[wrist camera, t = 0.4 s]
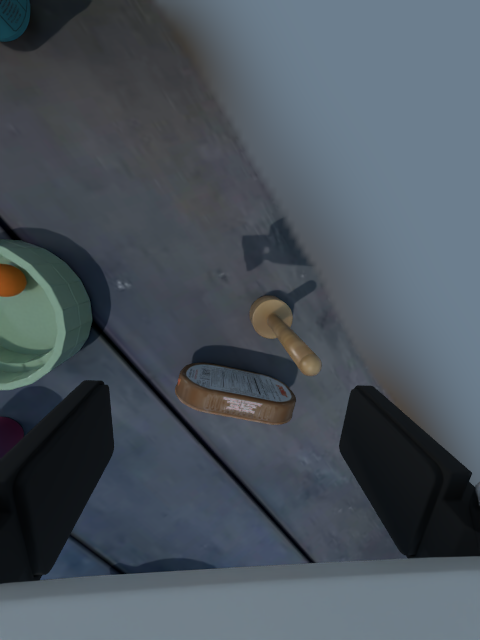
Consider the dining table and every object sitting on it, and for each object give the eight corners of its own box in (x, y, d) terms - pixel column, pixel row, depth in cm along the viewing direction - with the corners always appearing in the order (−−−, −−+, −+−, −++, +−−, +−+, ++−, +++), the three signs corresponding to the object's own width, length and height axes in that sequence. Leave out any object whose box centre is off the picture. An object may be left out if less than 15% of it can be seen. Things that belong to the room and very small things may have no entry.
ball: (-3, 262, 27) (-35, 263, 24) (31, 263, 28) (4, 265, 24) (4, 293, 28) (-26, 299, 25) (37, 294, 28) (11, 300, 25)
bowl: (-61, 236, 27) (-139, 231, 21) (86, 244, 28) (52, 241, 22) (-28, 364, 31) (-85, 390, 25) (100, 365, 32) (74, 390, 26)
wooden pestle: (250, 294, 31) (281, 334, 15) (287, 296, 32) (355, 335, 16) (248, 331, 32) (275, 401, 17) (284, 331, 33) (343, 401, 17)
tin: (180, 373, 33) (167, 411, 25) (185, 353, 33) (173, 385, 24) (281, 393, 35) (299, 434, 27) (288, 375, 35) (308, 411, 27)
